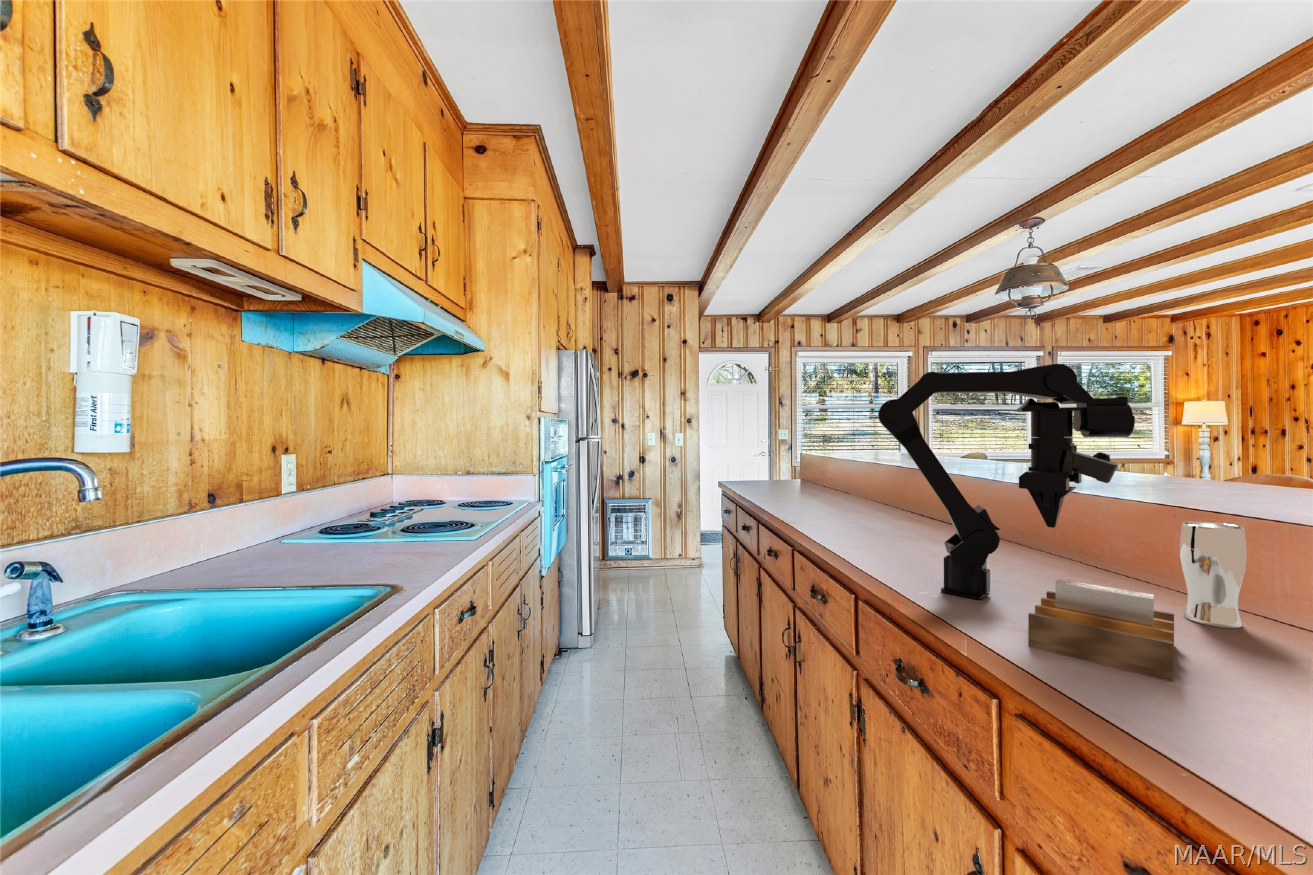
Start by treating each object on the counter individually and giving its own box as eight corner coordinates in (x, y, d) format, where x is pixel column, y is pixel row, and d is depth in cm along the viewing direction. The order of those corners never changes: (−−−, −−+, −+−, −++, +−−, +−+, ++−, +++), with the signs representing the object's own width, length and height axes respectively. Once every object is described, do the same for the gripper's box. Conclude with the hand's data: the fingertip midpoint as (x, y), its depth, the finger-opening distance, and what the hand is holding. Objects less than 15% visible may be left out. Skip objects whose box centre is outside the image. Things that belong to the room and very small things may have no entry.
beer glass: (1191, 624, 77) (1191, 526, 77) (1171, 610, 83) (1171, 519, 83) (1257, 632, 74) (1257, 530, 73) (1231, 617, 80) (1231, 522, 80)
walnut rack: (1028, 646, 70) (1028, 613, 70) (1047, 618, 80) (1047, 590, 80) (1172, 681, 60) (1172, 643, 60) (1174, 645, 70) (1174, 612, 70)
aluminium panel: (1055, 631, 72) (1055, 582, 72) (1058, 626, 74) (1058, 579, 74) (1152, 652, 65) (1153, 599, 65) (1153, 647, 67) (1154, 594, 67)
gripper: (1108, 438, 75) (1108, 542, 75) (1118, 436, 88) (1118, 525, 88) (1017, 438, 83) (1018, 532, 83) (1039, 436, 96) (1039, 518, 96)
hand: (1051, 527), depth 88 cm, fingers closed
